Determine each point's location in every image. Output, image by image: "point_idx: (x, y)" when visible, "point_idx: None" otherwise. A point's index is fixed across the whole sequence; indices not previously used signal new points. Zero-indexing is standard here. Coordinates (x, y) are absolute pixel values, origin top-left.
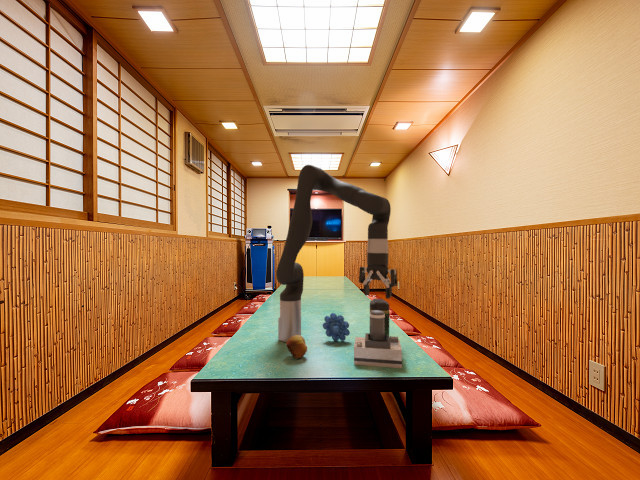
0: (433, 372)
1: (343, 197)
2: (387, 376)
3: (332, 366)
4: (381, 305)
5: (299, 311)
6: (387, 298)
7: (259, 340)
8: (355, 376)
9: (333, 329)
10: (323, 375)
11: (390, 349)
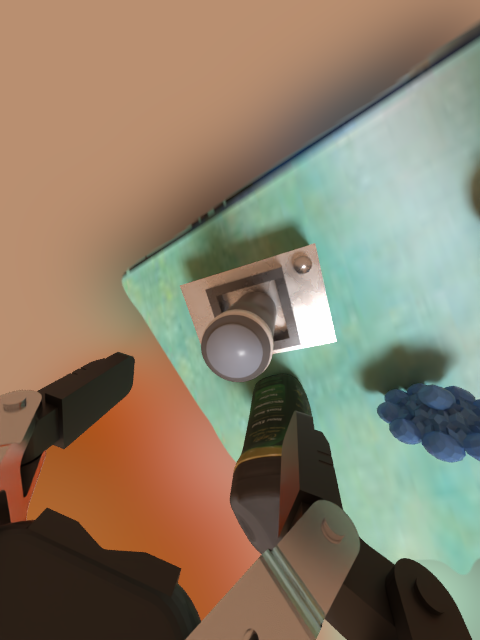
0: (140, 289)
1: None
2: (214, 219)
3: (365, 202)
4: (255, 482)
5: None
6: (122, 353)
7: None
8: (284, 175)
9: (444, 389)
10: (373, 126)
11: (207, 277)
